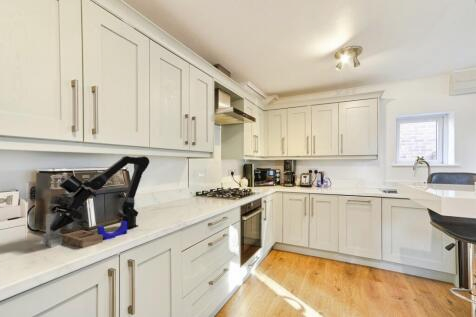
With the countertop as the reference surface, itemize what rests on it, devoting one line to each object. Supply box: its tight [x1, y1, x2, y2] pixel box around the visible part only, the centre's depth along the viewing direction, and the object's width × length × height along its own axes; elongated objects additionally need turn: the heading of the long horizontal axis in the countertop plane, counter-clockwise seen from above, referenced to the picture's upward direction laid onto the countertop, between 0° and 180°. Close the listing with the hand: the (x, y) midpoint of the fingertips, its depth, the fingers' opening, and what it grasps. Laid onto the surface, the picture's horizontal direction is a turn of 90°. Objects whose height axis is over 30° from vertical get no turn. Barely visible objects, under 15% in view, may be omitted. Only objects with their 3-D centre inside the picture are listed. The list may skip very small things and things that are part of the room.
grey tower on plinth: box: [42, 212, 64, 248], centre depth 93 cm, size 7×4×13 cm, turn 63°
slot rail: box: [63, 229, 104, 249], centre depth 97 cm, size 16×8×3 cm, turn 63°
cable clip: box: [96, 221, 128, 241], centre depth 104 cm, size 12×4×6 cm, turn 142°
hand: (49, 229), depth 92 cm, fingers open, 6 cm apart
